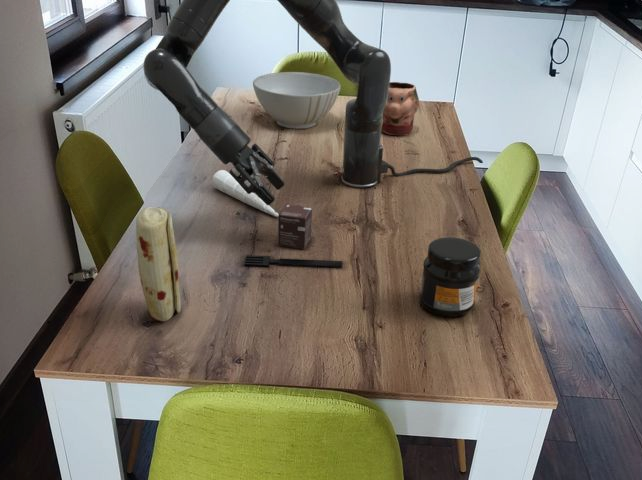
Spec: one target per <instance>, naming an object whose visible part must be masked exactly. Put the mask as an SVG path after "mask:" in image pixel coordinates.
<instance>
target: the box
mask: <svg viewBox="0 0 642 480" xmlns="http://www.w3.org/2000/svg"><path fill="white" fill-rule="evenodd" d="M278 214H279V217H278V222H277V223H278V224H277V225H278V231H277V232H278V233H277V234H278V235H277V241H278V242H277V245H278V246H281V247H287V248H293V249H301V250H305V249H306V247H307V245H308V244H309V241H310V240H311V237H312V220H313V208H312V207H309V206H303V205H298V204H290V203H289V204H288V203H286V204H284V206H283V207H282V209H281V210H280V212H279V213H278Z"/></svg>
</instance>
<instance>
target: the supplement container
mask: <svg viewBox="0 0 642 480" xmlns="http://www.w3.org/2000/svg"><path fill="white" fill-rule="evenodd" d="M481 255H482V250H481V249H480V247H479V246H478V245H477V244H476V243H474V242H472V241H470V240H467V239H464V238H459V237H453V236H452V237H451V236H449V237H448V236H447V237H439V238H436V239H433V240H432V241H431V242H430V243H429V244H428V249H427V256H426V257H425V259H424V260H423V264H422V267H423V271H422V277H421V283H420V284H421V285H420V292H419V303H420V304H421V306H422V307H423V308H424V309H425V310H426V311H428V312H429V313H432V314H434V315H437V316H440V317H446V318H448V317H449V318H455V317H461V316H463V315H466V314H468V313H470V312H471V310H472V309H473V308H474V306H475V301H476V295H477V289H478V284H479V278H480V275H481V270H482V267H481V265H480V260H481Z"/></svg>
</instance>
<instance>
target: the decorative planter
mask: <svg viewBox="0 0 642 480" xmlns="http://www.w3.org/2000/svg"><path fill="white" fill-rule="evenodd" d="M419 106H420V98H419V95H418V91H417V87H416V85H415V84H413V83H409V82H400V81H390V83H389V91H388V98H387V103H386V106H385V108H384V110H383V116H382V128H381V132H383V133H385V134H387V135H393V136H408V135H410V134H411V133H412V131H413V128H414V120H415V115H416V113H417V112H418V109H419Z"/></svg>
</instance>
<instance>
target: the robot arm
mask: <svg viewBox="0 0 642 480" xmlns="http://www.w3.org/2000/svg"><path fill="white" fill-rule="evenodd" d="M230 1H231V0H182V1H181V2H180V4H179V6H178V7H177V8H176V10H175V11H174V13H173V16H172V17H171V19H170V20H169V22H168V25H167V26H166V30H165V32H164V35H163V37H162V38H161V40H160V41H159V42H158V44H157V46H156V47H155V49H153V50H150V51H149V52H148V53H147V54H146V56H145V58H144V60H143V66H142V67H143V74H144V78H145V80H146V82H147V84H148V85H149V86H150V87H151V88H153V89H154V90H156V91H159V92H160V93H161V94H162V95H163V96H164V97H165V98H166V99H167V100H168V101H169V102H170V103H171V104H172V105H173V107H174V108H175V110H176V112H177V113H178V115H179V116H180V117H181V118H182V119H183V120H184V121H185V123H187V125H188V126H189V127H190V128H191V129H192V130H193V131H194V132H195V134H196V135H197V136H198V138H199V139H200V140H201V141H202V142H203V144H204V145H205V146H206V147H207V148H208V149H209V150H210V151H211V152H212V153H213V154H214V156H215V157H216V158H218V160H219V161H220V162H221V163H222V164H223V165H228V164H230V163H231V165H232V166H233V167H232V168H231V169H230V170H229V171H228V173H229V174H230V175H232V177H233V178H234V179H235V180H236V181H237V182H238V183H239V184H240V186H241V187H242V188H243V189H244V190H245V191H246V192H247V193H248V194H250V193H254V194H256V195H257V196H258V197H259V198H260V199H262V200H263V202H264V203H265V204H266V205H269V206H270V205H271V204H272V203H274V202H275V200H276V197H275V196H274V195H273V194H272V192H271V191H270V190H268V188H267V187H266V186H265V185H264V184H263V183H262V180H261V179H260V176H261V175H262V176H264V177H265V178H266V179H267V181H268V182H269V183H270V184H271V185H272V186H273V187H274V188H275V189H276V190H277V191H280V190H281V189H282V188H283V187H284V186H285V185H286V183H285V181H284V179H282V178H281V176H280V175H279V174H278V173H277V172H276V171H275V168H274V165H275V162H274V161H273V160H272V159H271V158H270V157H269V156H268V154H267V153H266V152H264V151H263V149H262V148H261V147H260V146H259V145H258V144H257V143H253V144H252V145H251V146H249V144H250V142H251V138H250V137H249V135H248V134H247V133H246V132H245V131H244V130H243V129H242V128H241V127H240V126H239V125H238V123H237V122H236V121H235V120H234V119H233V118H232V117H231V116H230V115H229V113H228V112H226V111H225V110H224V109H223V108H222V107H221V106H220V105H219V104H218V103H217V102H216V101H215V100H214V99H213V97H211V96H210V95H209V93H208V92H206V91H205V90H204V89H203V87H201V85H200V84H199V83H198V81H196V79H195V77H194V76H193V75H192V73H191V72H190V71H189V70H188V66H189V63H190V62H191V61H192V58H193V56H194V54H195V53H196V52H197V50H198V49H199V47H200V46H201V45H202V44H203V42H204V40H205V39H206V37H207V36H208V34H209V33H210V32H211V29H212V28H213V26H214V25H215V23H216V21H217V19H218V18H219V17H220V15H221V14H222V12H224V9H225V8H226V7H227V5H228V4H229V2H230ZM277 2H278V3H279V4H280V5H281V6H282V7H283V9H285V10H286V12H287V13H288V14H289V15H290V17H291V18H292V19H293V20H294V21H295V23H297V24H298V26H300V27H301V28H302V29H303V30H304V31H305V32H306V33H307V34H308V35H309V37H311V39H312V40H314V41H315V43H317V44H318V45H319V46H320V47H321V48H322V49H323V50H324V51H325V52H326V53H327V54H328V56H329V57H330V59H332V61H333V62H334V64H335V65H336V67H337V68H338V69H339V71H340V72H341V74H342V75H343V76H344V78H346V79H347V81H349V82H350V83H352V84H354V85H357V92H356V97H355V98H353V99H349V101H347V102H346V104H345V116H344V136H343V137H344V138H343V153H342V154H343V155H342V164H340V165H341V167H340V169H341V170H340V171H341V182H342V183H343V185H346V186H348V187H351V188H359V189H365V188H371V187H374V186H376V185H377V184H380V183H381V181H382V179H381V178H382V174H387V173H389V170H390V172H391V175H392V176H393V177H394V176H395V177H402V176H408V175H411V174H414V173H433V174H441V173H447V172H449V171H451V170H452V169H454V167H455V166H457V165H461V164H464V163H467V162H470V161H476V162H478V163H479V164H483V163H484V161H483V160H482V159H481V158H480V157H477V156H470V157H466V158H463V159H460V160H457V161H454V162H453V163H452V164H450V165H449V166H448V167H445V168H437V169H436V168H413V169H409V170H406V171H404V172H399V173H398V172H396V170H395V167H394V166H393V165H391V164H389V163H388V162H387V161H385V160H384V159H383V155H384V146H383V145H381V141H382V140H381V139H382V124H383V117H382V116H383V110H384V108H385V106H386V103H387V98H388V91H389V83H390V82H391V75H392V74H391V73H392V63H391V58H390V56H389V54H388V53H387V52H386V51H385V50H383V49H382V48H379V47H375V46H372V45H370V44H367V43H365V42H363V41H362V40H361V39H360V38H358V37H357V36H356V35H355V34H354V33H353V32H352V31H351V30H350V29H349V28H348V27H347V25H346V24H345V22H344V19H343V16H342V11H341V10H340V6H339V4H338V2H337V1H336V0H277Z"/></svg>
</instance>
